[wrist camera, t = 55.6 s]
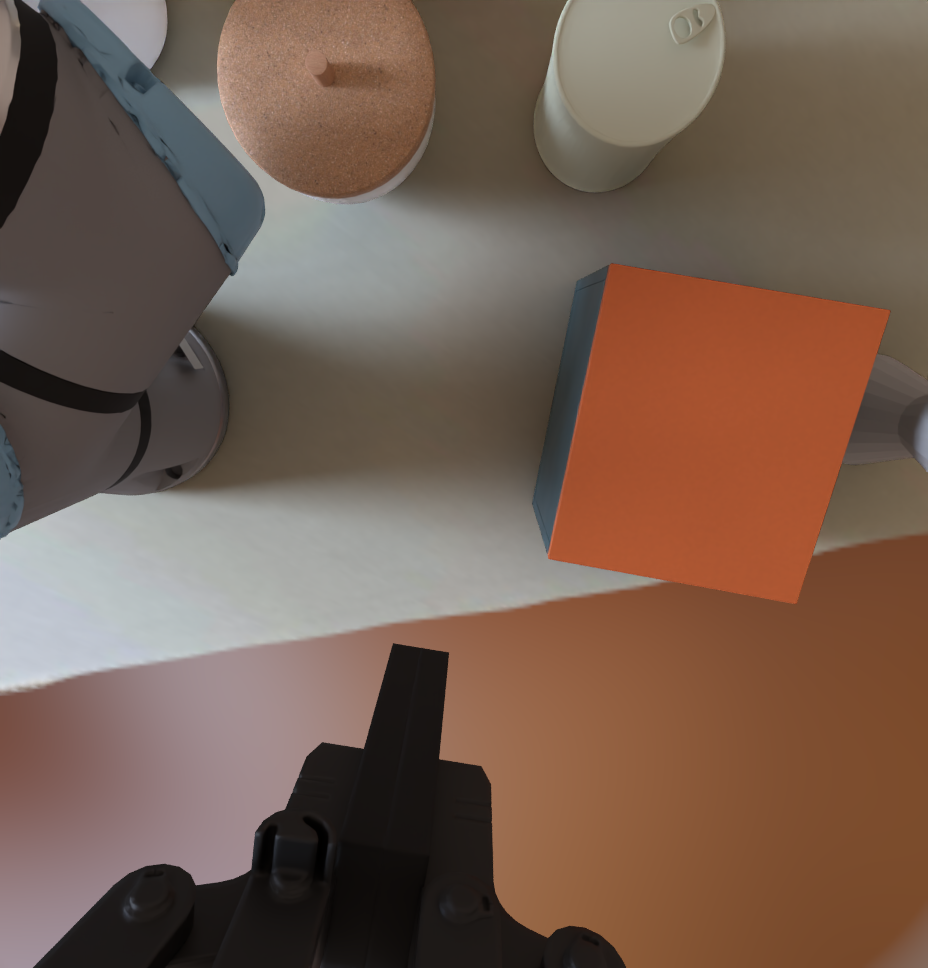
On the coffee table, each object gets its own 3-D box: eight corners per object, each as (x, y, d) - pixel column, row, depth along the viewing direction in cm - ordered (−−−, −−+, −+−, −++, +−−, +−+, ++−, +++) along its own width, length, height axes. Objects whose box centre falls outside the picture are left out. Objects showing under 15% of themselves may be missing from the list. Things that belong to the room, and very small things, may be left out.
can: (685, 151, 44) (758, 87, 33) (568, 217, 46) (598, 178, 34) (631, 20, 43) (688, -96, 31) (510, 93, 44) (522, 7, 32)
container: (767, 314, 47) (860, 308, 35) (707, 533, 51) (772, 592, 40) (576, 280, 47) (608, 264, 35) (532, 503, 51) (547, 554, 39)
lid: (882, 310, 35) (891, 310, 34) (790, 599, 39) (796, 604, 38) (609, 264, 35) (611, 263, 34) (547, 554, 39) (548, 559, 39)
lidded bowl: (434, 230, 46) (420, 200, 35) (264, 211, 46) (199, 175, 35) (452, 36, 43) (443, -61, 32) (271, 15, 43) (201, -89, 32)
